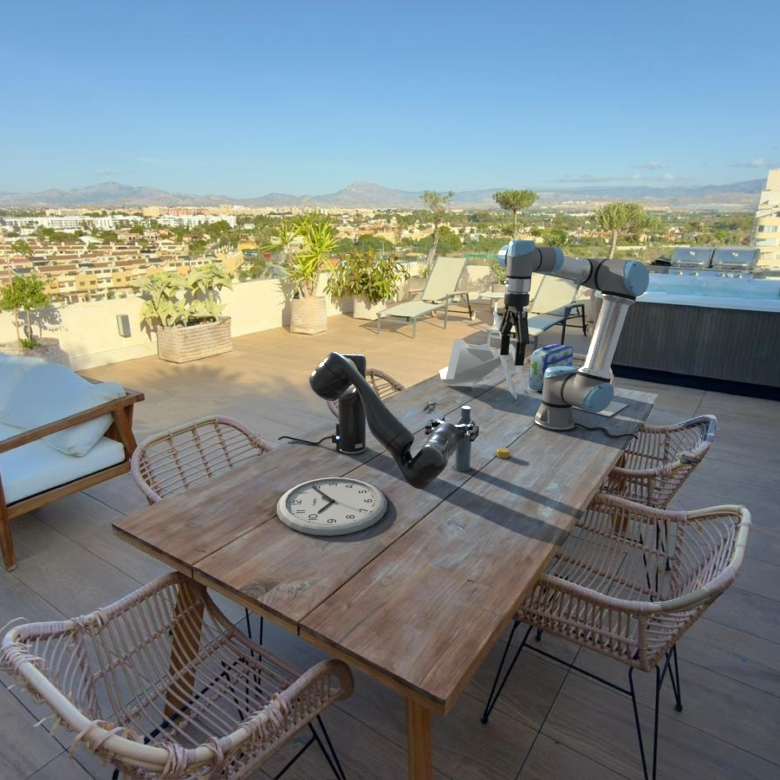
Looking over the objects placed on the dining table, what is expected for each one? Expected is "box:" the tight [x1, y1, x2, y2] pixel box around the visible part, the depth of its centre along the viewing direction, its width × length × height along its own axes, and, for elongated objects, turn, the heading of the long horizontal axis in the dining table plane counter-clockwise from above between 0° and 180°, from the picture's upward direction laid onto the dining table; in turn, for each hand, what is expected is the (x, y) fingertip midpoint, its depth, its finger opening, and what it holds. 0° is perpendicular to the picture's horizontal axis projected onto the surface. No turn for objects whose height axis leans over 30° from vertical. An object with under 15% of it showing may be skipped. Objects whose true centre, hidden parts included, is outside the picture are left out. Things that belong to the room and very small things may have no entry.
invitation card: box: [573, 400, 629, 418], centre depth 226 cm, size 21×1×15 cm
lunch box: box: [528, 343, 574, 392], centre depth 248 cm, size 26×11×21 cm, turn 134°
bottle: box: [454, 405, 473, 472], centre depth 163 cm, size 5×5×20 cm
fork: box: [422, 395, 437, 412], centre depth 223 cm, size 3×16×2 cm, turn 160°
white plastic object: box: [438, 310, 531, 400], centre depth 245 cm, size 37×45×31 cm
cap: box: [495, 446, 510, 459], centre depth 175 cm, size 4×4×2 cm
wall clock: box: [276, 476, 388, 537], centre depth 142 cm, size 30×2×30 cm
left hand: (457, 421), depth 150 cm, fingers open, 8 cm apart
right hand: (511, 360), depth 166 cm, fingers open, 13 cm apart
